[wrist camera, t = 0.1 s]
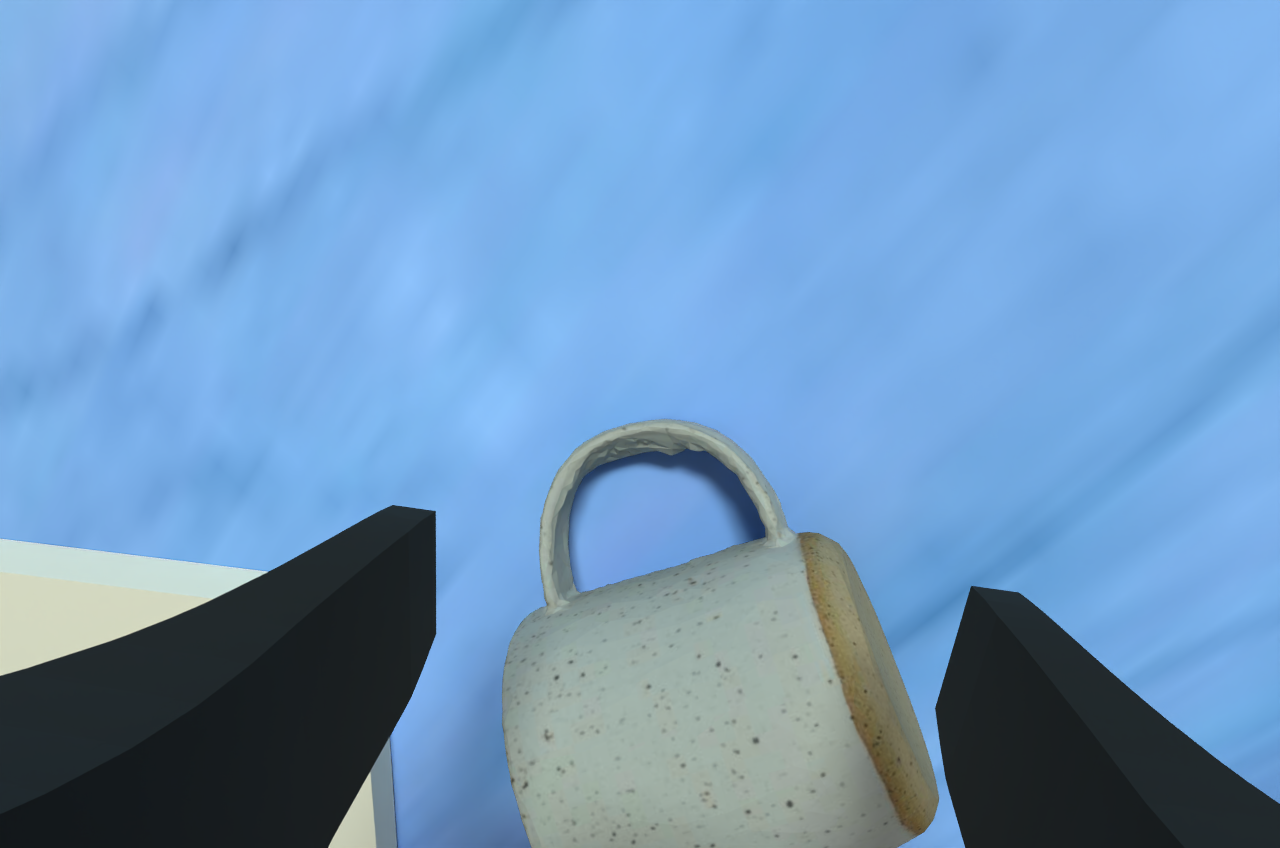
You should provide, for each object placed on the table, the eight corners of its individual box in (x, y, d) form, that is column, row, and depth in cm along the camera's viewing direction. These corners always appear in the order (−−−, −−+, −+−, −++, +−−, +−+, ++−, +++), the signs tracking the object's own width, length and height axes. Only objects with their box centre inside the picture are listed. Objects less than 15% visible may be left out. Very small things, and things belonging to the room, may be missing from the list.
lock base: (407, 996, 32) (390, 1041, 30) (-49, 922, 33) (-86, 963, 32) (379, 585, 25) (356, 619, 23) (-203, 513, 26) (-259, 541, 25)
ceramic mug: (921, 683, 24) (991, 942, 17) (656, 762, 26) (619, 1020, 19) (767, 347, 21) (772, 492, 14) (480, 469, 23) (359, 648, 16)
